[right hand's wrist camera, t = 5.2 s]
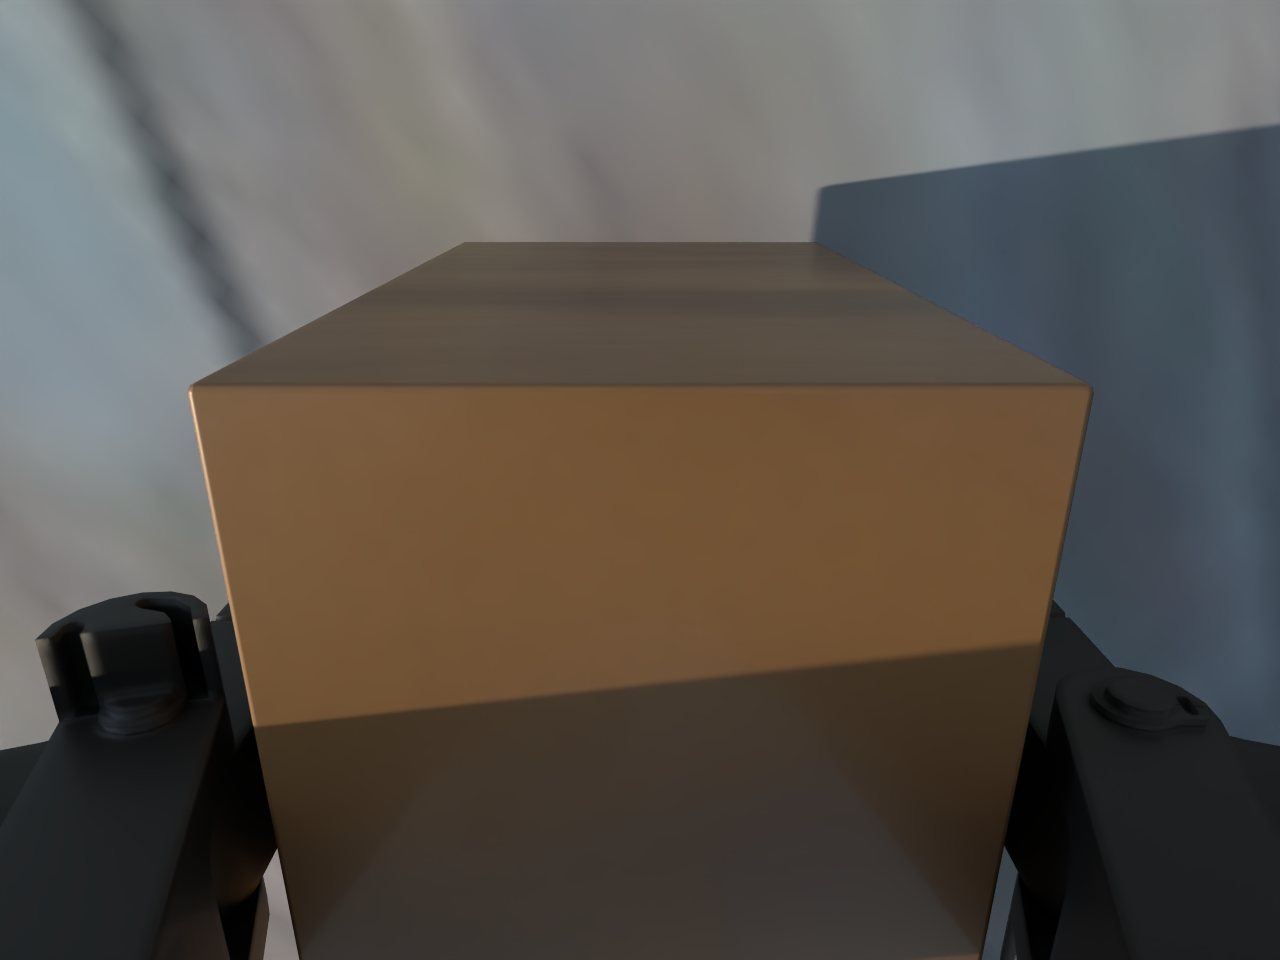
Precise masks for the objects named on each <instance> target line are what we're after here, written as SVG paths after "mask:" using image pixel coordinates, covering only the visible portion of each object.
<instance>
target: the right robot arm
mask: <svg viewBox="0 0 1280 960" xmlns="http://www.w3.org/2000/svg"><path fill="white" fill-rule="evenodd" d="M35 641H36V644H37V648H38V651H39V655H40V658H41V661H42V665H43V668H44V671H45V675H46V678H47V682H48V685H49V688H50V692H51V695H52V698H53V702H54V705H55V709H56V712H57V715H58V719H59V723H58V725H57V727H56V729H55V731H54V732H53V734H52V736H51V738H50V739H49V741H45V742H41V743H37V744H31V745H26V746H21V747H16V748H10V749H5V750H0V960H263V956H264V949H265V942H266V935H267V928H268V921H269V906H268V898H267V893H266V888H265V883H264V878H263V875H264V873H265V871H266V869H267V867H268V865H269V863H270V861H271V859H272V857H273V855H274V853H275V851H276V850H277V843H276V838H275V833H274V828H273V823H272V818H271V813H270V808H269V803H268V798H267V793H266V788H265V783H264V777H263V772H262V767H261V762H260V757H259V752H258V747H257V742H256V737H255V732H254V727H253V722H252V717H251V712H250V706H249V701H248V696H247V691H246V686H245V681H244V676H243V671H242V666H241V661H240V656H239V651H238V646H237V641H236V635H235V630H234V625H233V620H232V615H231V610H230V605H229V603H228V604H227V605H226V606H225V607H224V608H223V609H222V610H221V611H220V613H219V614H218V615H217V616H216V621H211V622H210V619H209V614H208V609H207V605H206V604H205V603H203V602H202V601H201V600H199V599H198V598H196V597H195V596H193V595H188V594H182V593H177V592H146V593H138V594H133V595H128V596H123V597H117V598H112V599H109V600H106V601H103V602H100V603H97V604H94V605H91V606H88V607H85V608H82V609H79V610H77V611H76V612H74V613H72V614H70V615H68V616H66V617H64V618H62V619H61V620H59V621H57V622H55V623H53V624H52V625H51V626H50V627H49V628H47V629H46V630H45V631H44V632H43V633H42V634H41V635H40V636H39V637H38V638H37V639H36V640H35ZM1004 846H1005V848H1006V850H1007V851H1008V853H1009V855H1010V857H1011V859H1012V861H1013V863H1014V865H1015V867H1016V869H1017V871H1018V873H1017V878H1016V883H1015V888H1014V893H1013V897H1012V902H1011V907H1010V912H1009V917H1008V921H1007V926H1006V931H1005V936H1004V941H1003V945H1002V950H1001V956H1000V960H1014V957H1015V955H1016V954H1017V960H1280V746H1276V745H1270V744H1265V743H1260V742H1255V741H1249V740H1244V739H1240V738H1236V737H1232V736H1229V734H1228V732H1227V731H1226V729H1225V727H1224V725H1223V724H1222V722H1221V720H1220V719H1219V718H1218V717H1217V716H1216V715H1215V714H1214V712H1213V711H1212V710H1211V709H1210V708H1209V707H1208V706H1207V705H1206V703H1204V702H1203V701H1201V700H1200V699H1198V698H1197V697H1195V696H1194V695H1192V694H1190V693H1189V692H1187V691H1186V690H1184V689H1183V688H1181V687H1179V686H1177V685H1174V684H1172V683H1169V682H1167V681H1164V680H1162V679H1160V678H1157V677H1155V676H1152V675H1149V674H1145V673H1141V672H1136V671H1132V670H1127V669H1123V668H1115V667H1114V666H1113V665H1112V663H1111V662H1110V661H1109V660H1108V659H1107V658H1106V657H1105V656H1104V655H1103V654H1102V653H1101V651H1100V650H1099V649H1098V648H1097V647H1096V646H1095V645H1094V644H1093V643H1092V642H1091V641H1090V639H1089V638H1088V637H1087V636H1086V635H1085V634H1084V633H1083V632H1082V631H1081V630H1080V629H1079V628H1078V626H1077V625H1076V624H1075V623H1074V622H1073V621H1072V620H1071V619H1070V618H1065V612H1064V611H1063V610H1062V609H1061V608H1060V607H1059V606H1058V605H1057V604H1056V602H1055V601H1054V600H1053V601H1052V606H1051V611H1050V616H1049V621H1048V626H1047V631H1046V636H1045V641H1044V646H1043V651H1042V656H1041V661H1040V666H1039V672H1038V677H1037V682H1036V687H1035V692H1034V697H1033V702H1032V707H1031V712H1030V717H1029V722H1028V727H1027V732H1026V737H1025V742H1024V747H1023V752H1022V757H1021V762H1020V767H1019V772H1018V777H1017V783H1016V788H1015V793H1014V798H1013V803H1012V808H1011V813H1010V818H1009V823H1008V828H1007V833H1006V838H1005V843H1004Z"/></svg>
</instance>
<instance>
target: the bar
mask: <svg viewBox="0 0 1280 960" xmlns="http://www.w3.org/2000/svg"><path fill="white" fill-rule="evenodd" d="M188 397H189V402H190V407H191V412H192V417H193V422H194V427H195V433H196V438H197V443H198V448H199V453H200V458H201V463H202V468H203V473H204V478H205V483H206V488H207V493H208V498H209V504H210V509H211V514H212V519H213V524H214V529H215V534H216V539H217V544H218V549H219V554H220V559H221V564H222V570H223V575H224V580H225V585H226V590H227V595H228V600H229V605H230V610H231V615H232V620H233V625H234V630H235V635H236V641H237V646H238V651H239V656H240V661H241V666H242V671H243V676H244V681H245V686H246V691H247V696H248V701H249V706H250V712H251V717H252V722H253V727H254V732H255V737H256V742H257V747H258V752H259V757H260V762H261V767H262V772H263V777H264V783H265V788H266V793H267V798H268V803H269V808H270V813H271V818H272V823H273V828H274V833H275V838H276V843H277V849H278V854H279V859H280V864H281V869H282V874H283V879H284V884H285V889H286V894H287V899H288V904H289V909H290V914H291V920H292V925H293V930H294V935H295V940H296V945H297V950H298V955H299V960H981V959H982V954H983V949H984V944H985V939H986V934H987V929H988V924H989V919H990V914H991V909H992V904H993V899H994V894H995V888H996V883H997V878H998V873H999V868H1000V863H1001V858H1002V853H1003V848H1004V843H1005V838H1006V833H1007V828H1008V823H1009V818H1010V813H1011V808H1012V803H1013V798H1014V793H1015V788H1016V783H1017V777H1018V772H1019V767H1020V762H1021V757H1022V752H1023V747H1024V742H1025V737H1026V732H1027V727H1028V722H1029V717H1030V712H1031V707H1032V702H1033V697H1034V692H1035V687H1036V682H1037V677H1038V672H1039V666H1040V661H1041V656H1042V651H1043V646H1044V641H1045V636H1046V631H1047V626H1048V621H1049V616H1050V611H1051V606H1052V601H1053V596H1054V591H1055V586H1056V581H1057V576H1058V571H1059V566H1060V560H1061V555H1062V550H1063V545H1064V540H1065V535H1066V530H1067V525H1068V520H1069V515H1070V510H1071V505H1072V500H1073V495H1074V490H1075V485H1076V480H1077V475H1078V470H1079V465H1080V460H1081V455H1082V449H1083V444H1084V439H1085V434H1086V429H1087V424H1088V419H1089V414H1090V409H1091V404H1092V399H1093V388H1092V386H1091V385H1090V384H1088V383H1086V382H1084V381H1082V380H1080V379H1078V378H1076V377H1074V376H1072V375H1070V374H1069V373H1067V372H1065V371H1063V370H1061V369H1059V368H1057V367H1055V366H1053V365H1051V364H1049V363H1047V362H1045V361H1044V360H1042V359H1040V358H1038V357H1036V356H1034V355H1032V354H1030V353H1028V352H1026V351H1024V350H1022V349H1020V348H1019V347H1017V346H1015V345H1013V344H1011V343H1009V342H1007V341H1005V340H1003V339H1001V338H999V337H997V336H995V335H994V334H992V333H990V332H988V331H986V330H984V329H982V328H980V327H978V326H976V325H974V324H972V323H970V322H968V321H967V320H965V319H963V318H961V317H959V316H957V315H955V314H953V313H951V312H949V311H947V310H945V309H943V308H942V307H940V306H938V305H936V304H934V303H932V302H930V301H928V300H926V299H924V298H922V297H920V296H918V295H917V294H915V293H913V292H911V291H909V290H907V289H905V288H903V287H901V286H899V285H897V284H895V283H893V282H892V281H890V280H888V279H886V278H884V277H882V276H880V275H878V274H876V273H874V272H872V271H870V270H868V269H867V268H865V267H863V266H861V265H859V264H857V263H855V262H853V261H851V260H849V259H847V258H845V257H843V256H842V255H840V254H838V253H836V252H834V251H832V250H830V249H828V248H826V247H824V246H822V245H820V244H818V243H816V242H464V243H462V244H460V245H458V246H456V247H454V248H453V249H451V250H449V251H447V252H445V253H443V254H441V255H439V256H437V257H435V258H433V259H431V260H429V261H428V262H426V263H424V264H422V265H420V266H418V267H416V268H414V269H412V270H410V271H408V272H406V273H404V274H403V275H401V276H399V277H397V278H395V279H393V280H391V281H389V282H387V283H385V284H383V285H381V286H380V287H378V288H376V289H374V290H372V291H370V292H368V293H366V294H364V295H362V296H360V297H358V298H356V299H355V300H353V301H351V302H349V303H347V304H345V305H343V306H341V307H339V308H337V309H335V310H333V311H331V312H330V313H328V314H326V315H324V316H322V317H320V318H318V319H316V320H314V321H312V322H310V323H308V324H306V325H305V326H303V327H301V328H299V329H297V330H295V331H293V332H291V333H289V334H287V335H285V336H283V337H282V338H280V339H278V340H276V341H274V342H272V343H270V344H268V345H266V346H264V347H262V348H260V349H258V350H257V351H255V352H253V353H251V354H249V355H247V356H245V357H243V358H241V359H239V360H237V361H235V362H233V363H232V364H230V365H228V366H226V367H224V368H222V369H220V370H218V371H216V372H214V373H212V374H210V375H209V376H207V377H205V378H203V379H201V380H199V381H197V382H195V383H193V384H191V385H190V386H189V389H188Z"/></svg>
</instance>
